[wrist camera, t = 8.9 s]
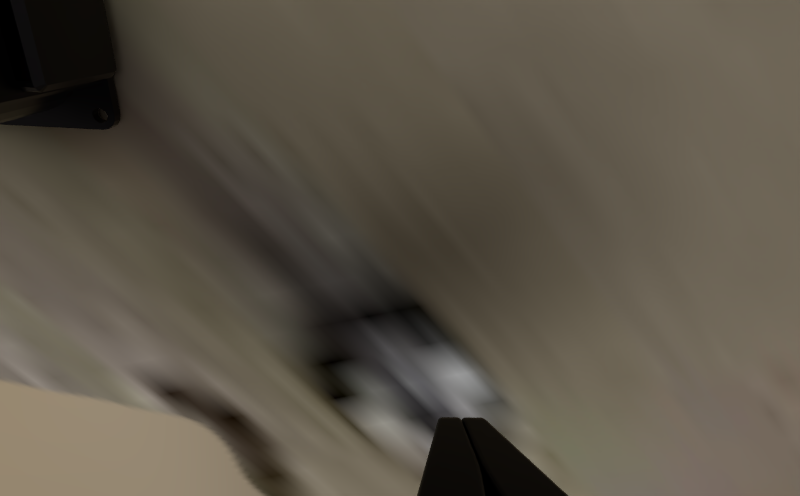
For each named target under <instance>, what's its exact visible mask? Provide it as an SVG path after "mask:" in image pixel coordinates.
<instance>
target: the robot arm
mask: <svg viewBox="0 0 800 496" xmlns="http://www.w3.org/2000/svg"><path fill="white" fill-rule="evenodd" d="M115 72H116V65H115V59H114V54H113V49H112V44H111V39H110V33H109V28H108V23H107V18H106V12H105V7H104V2H103V0H0V124H5V125H24V126H43V127H62V128H82V129H101V130H104V129H109V128H112V127H114V126H115V125H117V124H118V123H119V121H120V111H119V106H118V101H117V96H116V91H115V86H114V81H113V75H114V73H115ZM99 108H100V109H103V110H104V111H105V112H106V114H107V116H108V117H107V121H106V120H103V119H102V118H101V117H100V116H99V113H98V110H99ZM417 496H568V495H567V494H566V493H565V492H564V491H562V490H561V489H560V488H559V487H558V486H557V485H556V484H555V483H554V482H553V481H552V480H551V479H549V478H548V477H547V476H546V475H545V474H544V473H543V472H542V471H541V470H540V469H539V468H537V467H536V466H535V465H534V464H533V463H532V462H531V461H530V460H529V459H528V458H527V457H526V456H524V455H523V454H522V453H521V452H520V451H519V450H518V449H517V448H516V447H515V446H514V445H513V444H511V443H510V442H509V441H508V440H507V439H506V438H505V437H504V436H503V435H502V434H501V433H499V432H498V431H497V430H496V429H495V428H494V427H493V426H492V425H491V424H490V423H489V422H488V421H486V420H485V419H483V418H463V419H462V420H461V419H460V418H457V417H442V418H439V420H438V423H437V426H436V430H435V433H434V437H433V441H432V444H431V448H430V451H429V455H428V458H427V462H426V466H425V469H424V473H423V476H422V480H421V483H420V487H419V491H418V494H417Z"/></svg>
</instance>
